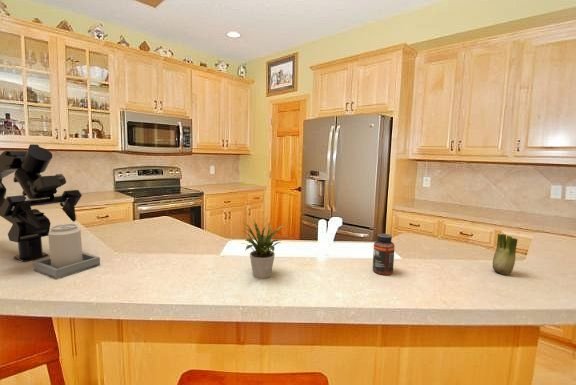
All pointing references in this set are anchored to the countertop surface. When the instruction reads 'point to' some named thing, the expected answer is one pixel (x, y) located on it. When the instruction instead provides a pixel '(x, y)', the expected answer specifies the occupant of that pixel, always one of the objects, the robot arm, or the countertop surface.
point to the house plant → (262, 251)
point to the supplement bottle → (383, 255)
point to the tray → (55, 273)
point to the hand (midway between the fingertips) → (58, 223)
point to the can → (65, 245)
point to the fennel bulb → (505, 254)
